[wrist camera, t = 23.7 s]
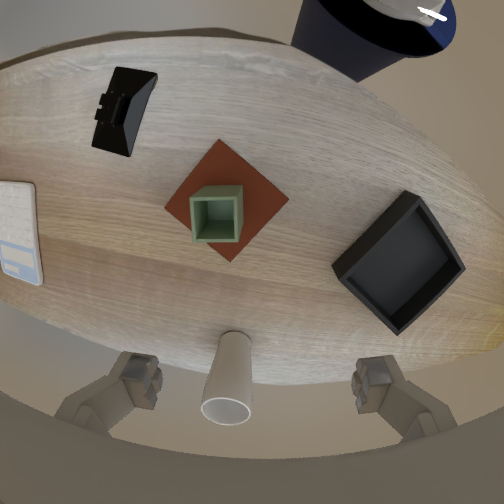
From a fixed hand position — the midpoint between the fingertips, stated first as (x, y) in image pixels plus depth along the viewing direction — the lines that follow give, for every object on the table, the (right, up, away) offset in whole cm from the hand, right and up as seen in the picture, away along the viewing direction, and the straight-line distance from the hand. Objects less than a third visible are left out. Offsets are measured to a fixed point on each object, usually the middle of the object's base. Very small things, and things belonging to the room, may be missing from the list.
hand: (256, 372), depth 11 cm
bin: (+22, +3, +29) cm, 37 cm away
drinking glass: (-3, -10, +36) cm, 37 cm away
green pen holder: (-4, +11, +27) cm, 29 cm away
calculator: (-45, +9, +30) cm, 55 cm away
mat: (-4, +11, +27) cm, 30 cm away
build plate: (-18, +24, +22) cm, 38 cm away
